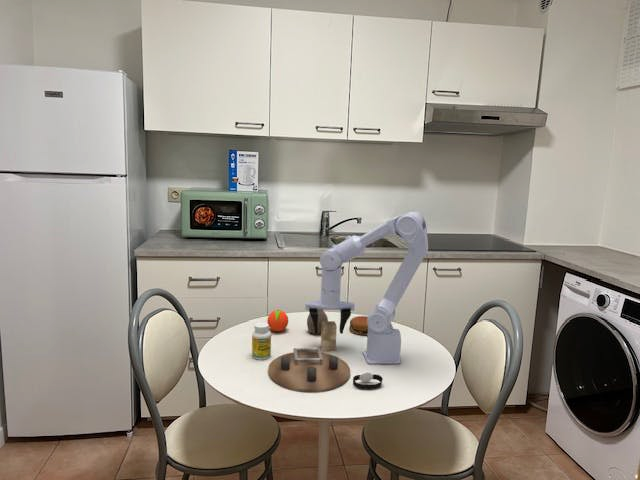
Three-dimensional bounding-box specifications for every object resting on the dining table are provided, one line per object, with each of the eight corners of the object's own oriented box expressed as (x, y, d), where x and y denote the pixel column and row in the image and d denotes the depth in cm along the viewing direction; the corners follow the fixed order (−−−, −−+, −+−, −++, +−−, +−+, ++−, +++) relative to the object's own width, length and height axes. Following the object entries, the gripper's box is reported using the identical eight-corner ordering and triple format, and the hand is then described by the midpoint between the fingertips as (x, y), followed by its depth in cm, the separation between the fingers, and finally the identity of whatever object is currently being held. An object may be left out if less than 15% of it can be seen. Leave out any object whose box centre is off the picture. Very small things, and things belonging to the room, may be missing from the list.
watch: (379, 381, 123) (380, 368, 122) (384, 390, 118) (385, 377, 117) (350, 382, 121) (351, 369, 121) (354, 391, 117) (355, 378, 116)
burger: (344, 327, 159) (345, 314, 158) (368, 325, 163) (369, 312, 162) (357, 338, 150) (358, 325, 150) (382, 335, 154) (383, 322, 153)
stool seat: (343, 354, 138) (343, 341, 137) (356, 391, 116) (357, 376, 116) (268, 354, 135) (268, 341, 135) (268, 393, 114) (268, 378, 113)
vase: (327, 336, 150) (328, 311, 149) (306, 336, 150) (307, 310, 149) (327, 329, 157) (328, 304, 156) (307, 328, 157) (308, 303, 156)
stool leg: (333, 346, 144) (334, 321, 142) (335, 351, 140) (336, 326, 138) (320, 346, 143) (321, 321, 142) (322, 351, 139) (323, 326, 138)
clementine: (287, 336, 149) (287, 315, 148) (265, 335, 149) (265, 314, 148) (288, 327, 157) (289, 307, 156) (268, 326, 157) (268, 306, 156)
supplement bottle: (265, 351, 138) (266, 320, 136) (273, 358, 134) (274, 326, 132) (248, 354, 135) (249, 323, 133) (256, 361, 131) (257, 329, 129)
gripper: (352, 285, 143) (349, 327, 145) (305, 284, 141) (303, 327, 144) (356, 292, 136) (354, 336, 138) (307, 291, 134) (305, 336, 137)
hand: (328, 332), depth 140 cm, fingers open, 7 cm apart
